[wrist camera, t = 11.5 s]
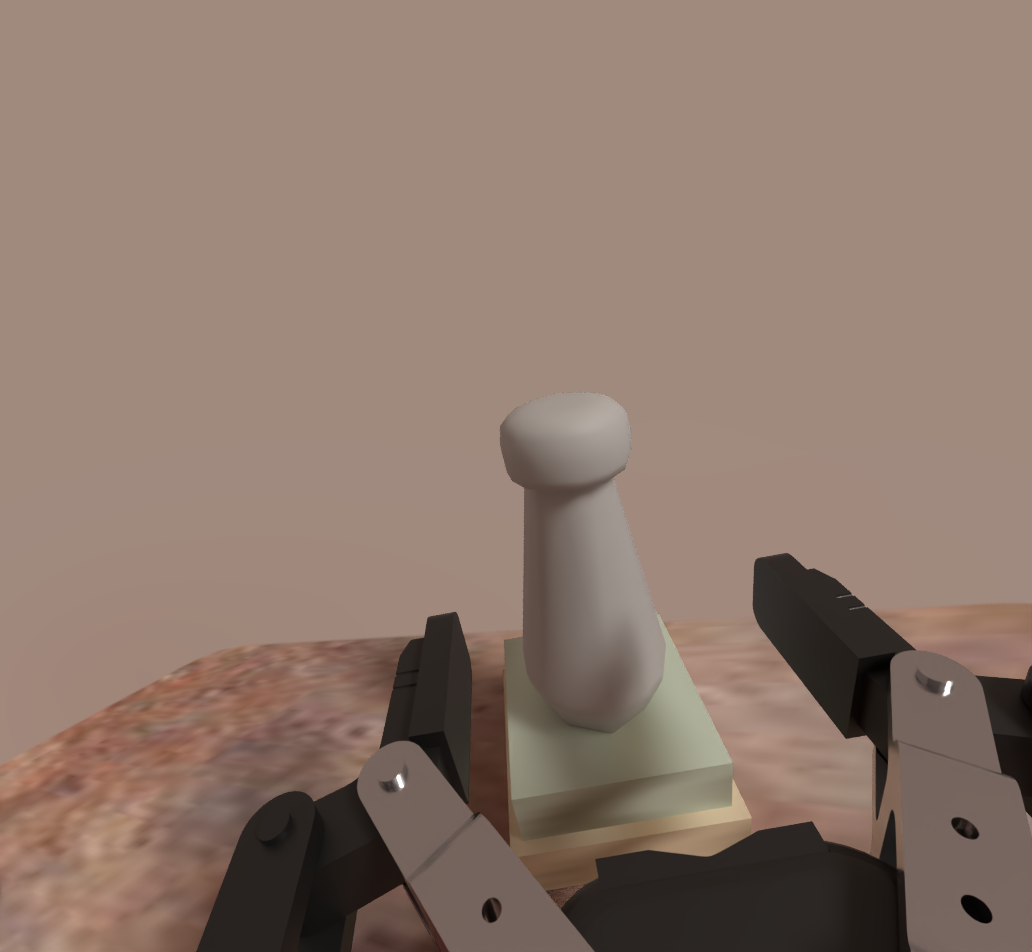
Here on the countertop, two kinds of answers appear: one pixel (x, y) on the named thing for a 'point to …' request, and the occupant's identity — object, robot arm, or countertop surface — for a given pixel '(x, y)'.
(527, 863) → the brick base
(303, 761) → the countertop surface
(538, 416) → the salt shaker
